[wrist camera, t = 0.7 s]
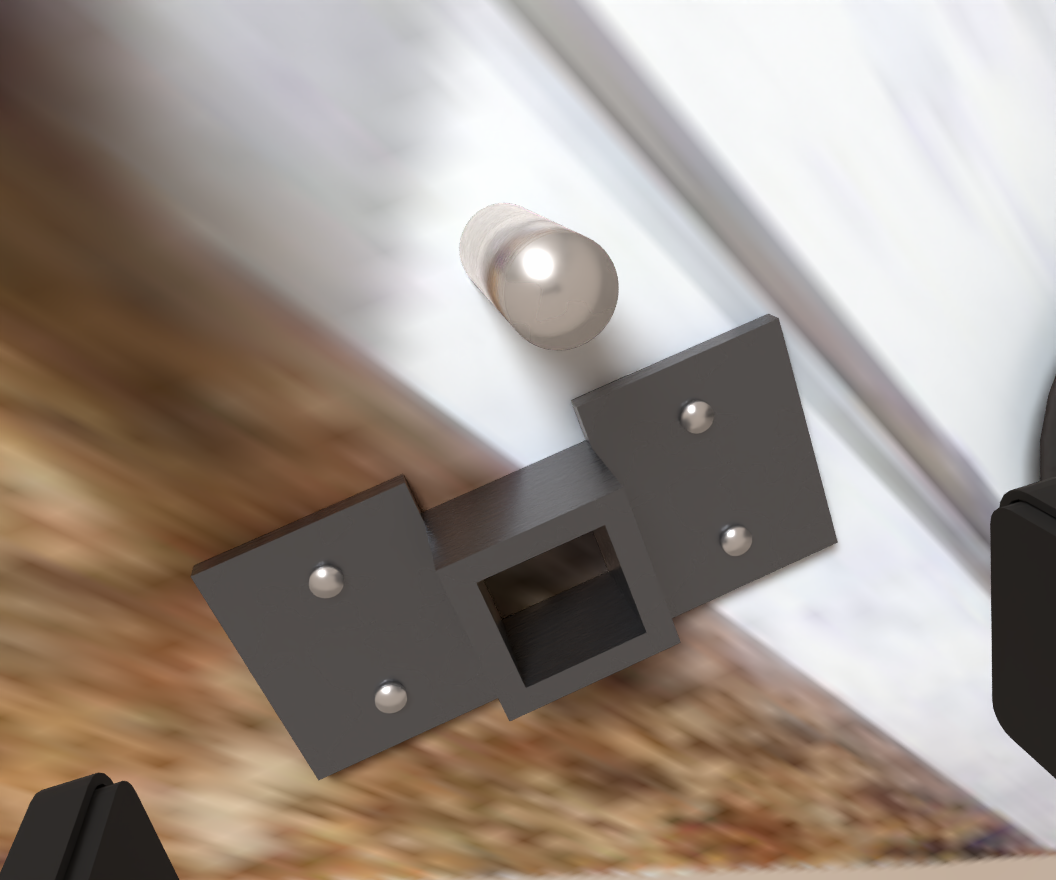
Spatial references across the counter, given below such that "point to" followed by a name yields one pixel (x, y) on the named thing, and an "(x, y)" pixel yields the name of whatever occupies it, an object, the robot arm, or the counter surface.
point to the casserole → (1049, 438)
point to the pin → (540, 275)
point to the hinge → (520, 534)
